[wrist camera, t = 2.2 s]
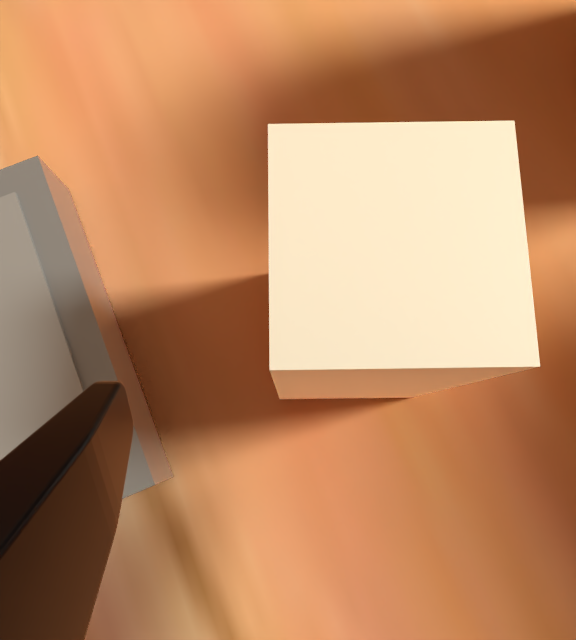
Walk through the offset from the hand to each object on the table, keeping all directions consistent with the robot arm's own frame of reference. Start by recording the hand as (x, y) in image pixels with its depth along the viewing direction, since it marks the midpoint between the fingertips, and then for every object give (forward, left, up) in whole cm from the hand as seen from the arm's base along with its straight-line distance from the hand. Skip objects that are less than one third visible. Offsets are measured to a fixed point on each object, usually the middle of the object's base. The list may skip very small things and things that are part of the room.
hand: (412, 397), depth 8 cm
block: (+3, +1, -10) cm, 10 cm away
